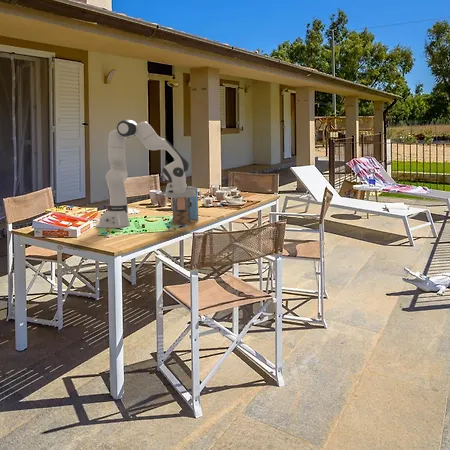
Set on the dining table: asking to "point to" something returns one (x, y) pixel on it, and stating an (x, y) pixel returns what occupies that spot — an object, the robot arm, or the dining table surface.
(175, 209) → the wall board with cleat
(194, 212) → the gum box
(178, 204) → the salmon brown rectangular block
